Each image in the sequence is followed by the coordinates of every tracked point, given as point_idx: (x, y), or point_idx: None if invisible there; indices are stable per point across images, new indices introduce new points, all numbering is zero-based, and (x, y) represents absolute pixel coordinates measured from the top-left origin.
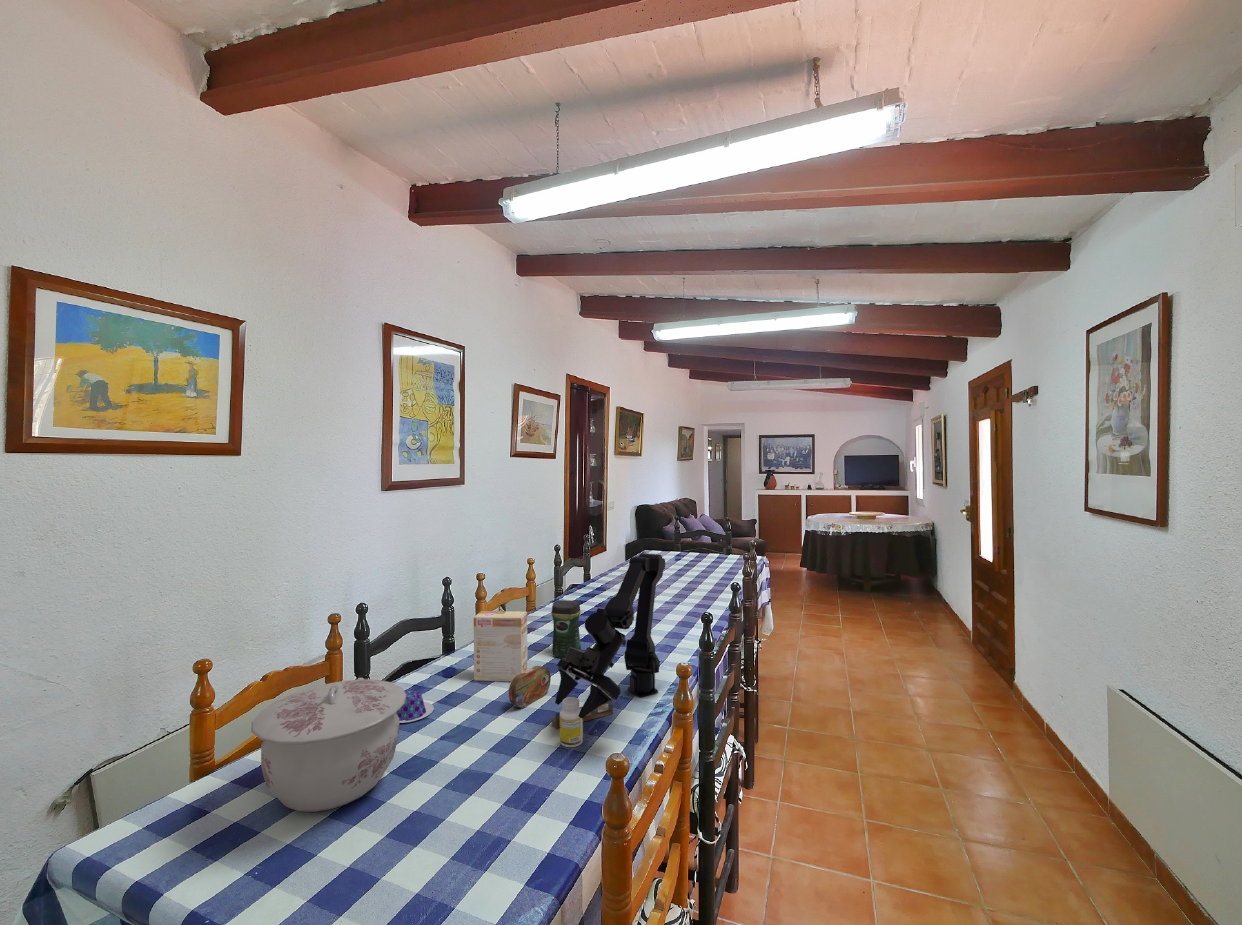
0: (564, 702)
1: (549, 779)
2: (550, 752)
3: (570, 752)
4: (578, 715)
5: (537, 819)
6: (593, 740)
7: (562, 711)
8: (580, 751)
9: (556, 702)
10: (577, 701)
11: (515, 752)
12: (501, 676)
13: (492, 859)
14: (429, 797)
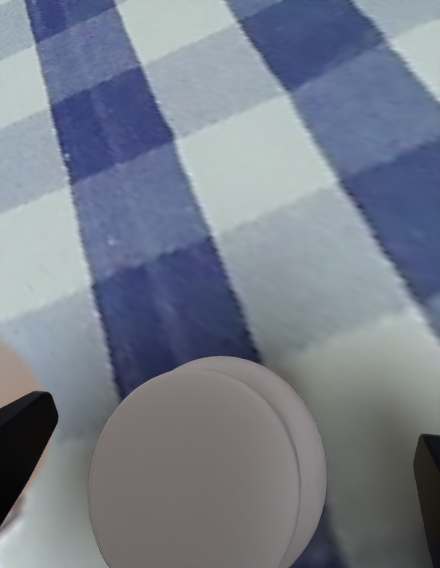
0: (209, 383)
1: (117, 202)
2: (250, 304)
3: None
4: (47, 393)
5: (30, 103)
6: None
7: (248, 382)
8: None
9: (420, 439)
10: (102, 516)
11: (362, 199)
12: None
13: (31, 7)
14: None
